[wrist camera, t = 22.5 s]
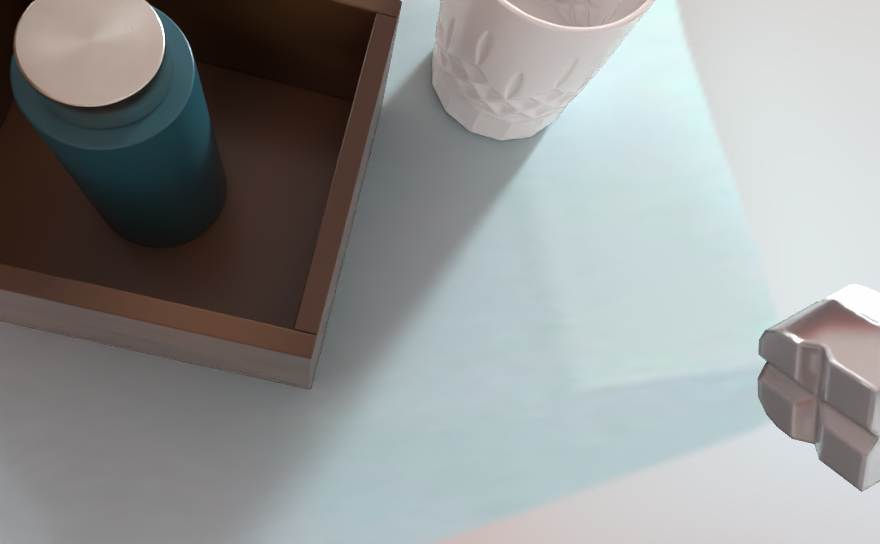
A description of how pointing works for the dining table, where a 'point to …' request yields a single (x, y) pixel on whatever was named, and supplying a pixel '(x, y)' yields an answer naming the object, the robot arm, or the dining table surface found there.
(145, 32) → the spray can
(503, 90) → the white cup
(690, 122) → the dining table surface
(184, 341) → the chest
